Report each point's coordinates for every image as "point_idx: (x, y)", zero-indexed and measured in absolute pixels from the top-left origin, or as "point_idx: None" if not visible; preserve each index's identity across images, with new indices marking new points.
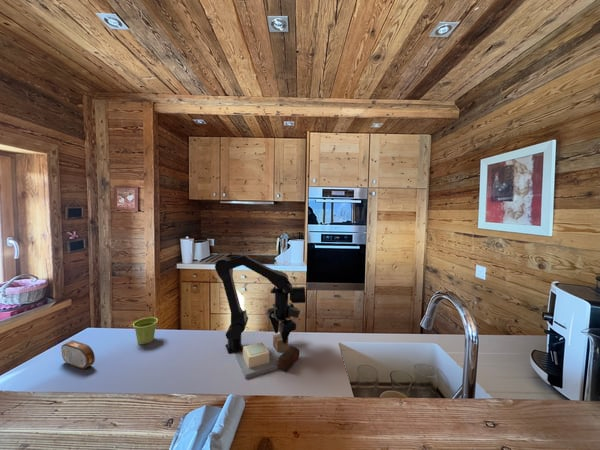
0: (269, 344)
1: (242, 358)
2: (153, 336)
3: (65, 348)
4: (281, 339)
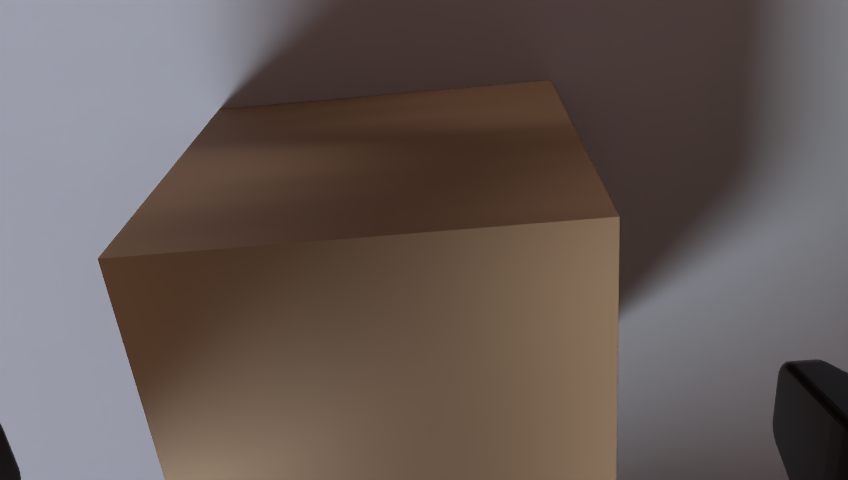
0: None
1: None
2: None
3: None
4: (588, 471)
